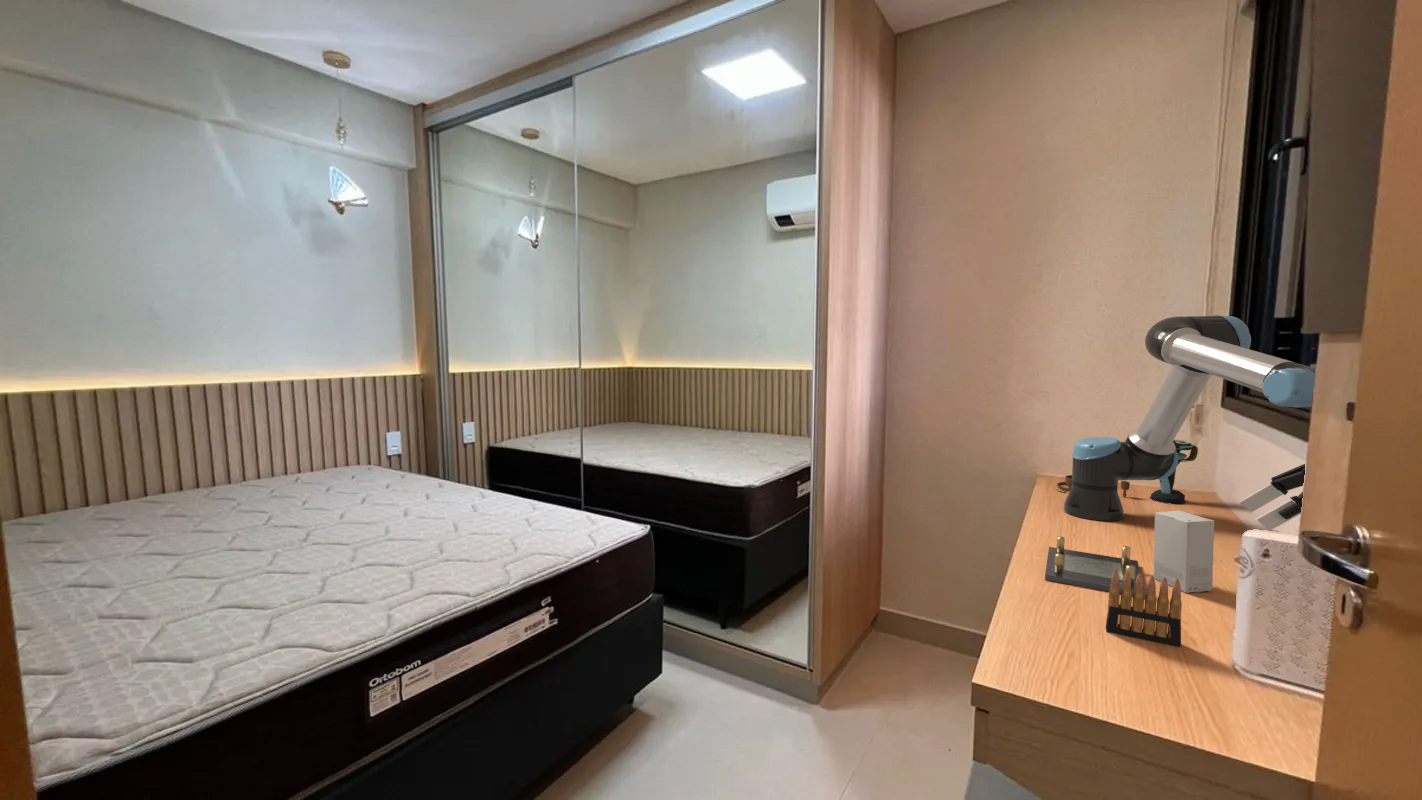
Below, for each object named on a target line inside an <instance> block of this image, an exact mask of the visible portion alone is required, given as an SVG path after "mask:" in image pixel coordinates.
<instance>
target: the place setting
mask: <svg viewBox="0 0 1422 800" xmlns="http://www.w3.org/2000/svg"><path fill="white" fill-rule="evenodd" d="M1064 476H1065V478H1064V479H1065V480H1064V481H1060V482H1057V483H1056V487H1057V488H1058V489H1059V488H1060V489H1059V490H1061V489H1062V491H1064V490H1066V491H1064V492H1065V493H1066V492H1068V491H1070V488H1071V487H1072V474H1070V475H1064ZM1130 484H1131V483H1130V481H1128V480H1120V488H1121V490H1122V491H1123V492H1122V498H1123V497H1124V498H1123V499H1127V491H1129V489H1130ZM1061 485H1065V486H1067V487H1065V486H1061ZM1055 489H1056V488H1055ZM1058 489H1056V491H1057V490H1058ZM1062 491H1060V492H1059V493H1063V492H1062Z"/></svg>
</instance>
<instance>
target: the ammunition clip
mask: <svg viewBox="0 0 1422 800" xmlns="http://www.w3.org/2000/svg"><path fill="white" fill-rule="evenodd" d="M1155 580H1156V579H1154V574H1153V575H1152V574H1151V575H1150V576H1149V578H1148V582H1147V589H1146V596H1145V598H1144V593H1143V592H1144V589H1143V584H1144V578H1143V575H1142V573H1139V574H1138V576H1137V579H1136V583H1135V590H1134V594H1133V596H1132V593H1131V577H1130V574H1129V572H1128V571H1127V572H1126V573H1125V576H1124V580H1123V587H1122V592H1121V594H1120V591H1119V576H1118V572H1117V570H1116V569H1115V570H1114V571H1113V574H1112V578H1111V585H1110V590H1109V592H1108V599H1107V600H1108V602H1107V613H1106V621H1105V623H1106V624H1105V631H1106V632H1107V633H1109V634H1114V635H1118V636H1123V637H1128V638H1133V639H1138V640H1142V641H1148V642H1151V643H1156V644H1162V645H1166V646H1171V647H1174V648H1176V647H1177V648H1182V609H1183V608H1182V604H1183V603H1182V591H1181V586H1180V582H1179V580H1178V579H1176V581H1175V582H1174V585H1173V587H1172V592H1171V596H1170V597H1171V598H1170V600H1169V585H1168V583H1167V579H1166V578H1165V577H1164V578H1163V579H1162V581H1160V586H1159V591H1158V597H1157V595H1156V593H1157V592H1156V589H1157V588H1156V587H1157V586H1156V581H1155Z"/></svg>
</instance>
